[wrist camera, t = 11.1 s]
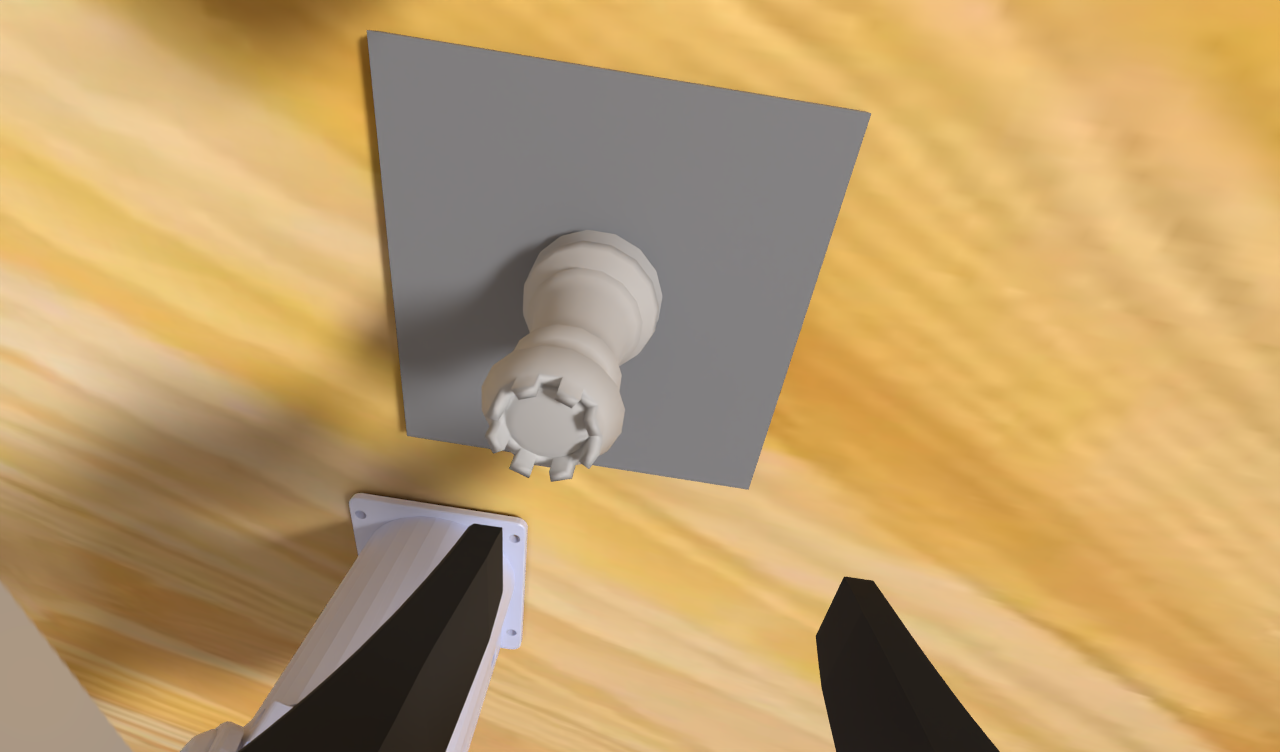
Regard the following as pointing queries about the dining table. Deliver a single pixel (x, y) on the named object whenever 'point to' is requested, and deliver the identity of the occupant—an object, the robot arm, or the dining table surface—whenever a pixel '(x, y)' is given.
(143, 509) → the dining table surface
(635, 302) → the rook chess piece
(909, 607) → the dining table surface
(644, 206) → the rubber mat
